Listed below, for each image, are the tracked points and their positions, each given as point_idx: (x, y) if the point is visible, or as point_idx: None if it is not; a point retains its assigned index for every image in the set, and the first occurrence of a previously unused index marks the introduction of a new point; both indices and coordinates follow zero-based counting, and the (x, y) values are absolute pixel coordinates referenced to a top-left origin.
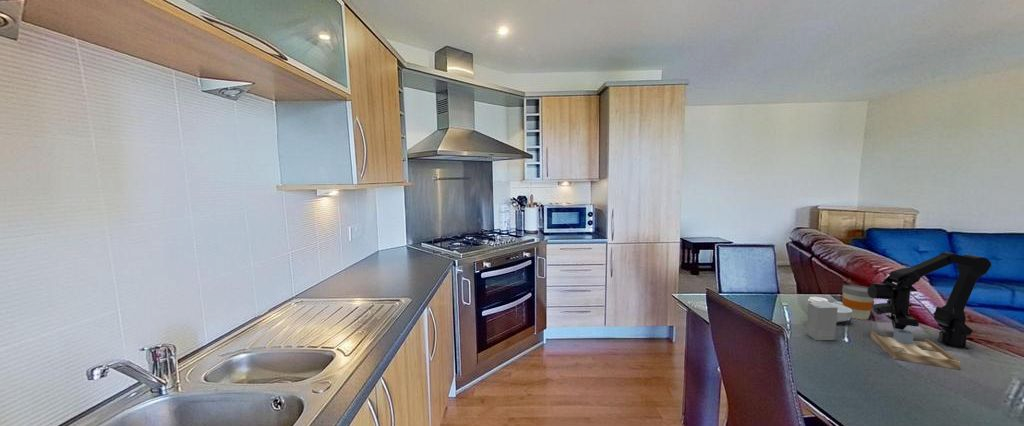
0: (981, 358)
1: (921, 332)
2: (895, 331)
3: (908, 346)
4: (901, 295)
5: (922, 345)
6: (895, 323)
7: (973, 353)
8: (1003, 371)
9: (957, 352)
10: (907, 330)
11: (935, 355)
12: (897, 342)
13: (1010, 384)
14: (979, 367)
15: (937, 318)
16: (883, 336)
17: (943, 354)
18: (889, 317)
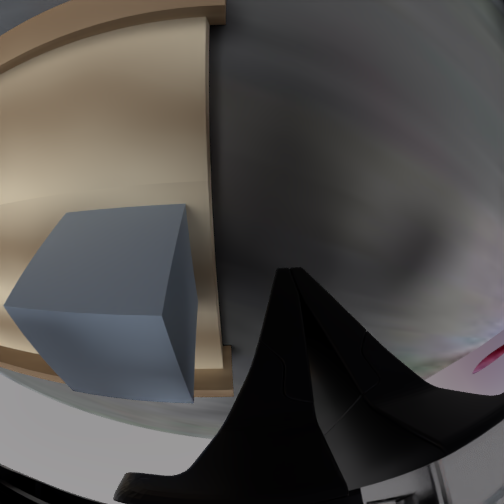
0: (180, 416)
1: (424, 355)
2: (99, 286)
3: (26, 258)
4: None
5: None
6: (224, 425)
7: (225, 416)
8: (92, 408)
9: (202, 398)
10: (175, 398)
11: (5, 326)
12: (59, 207)
13: (5, 374)
14: None
15: (345, 500)
16: (194, 112)
17: (38, 358)
18: (428, 457)
